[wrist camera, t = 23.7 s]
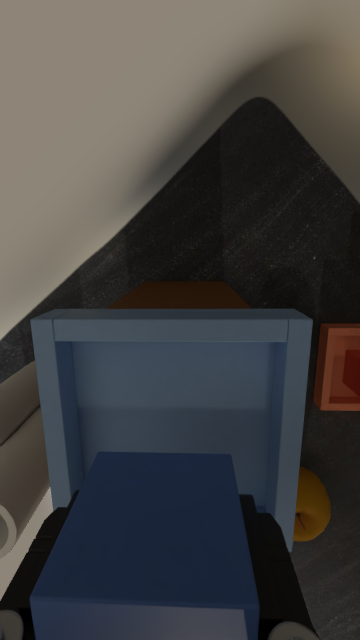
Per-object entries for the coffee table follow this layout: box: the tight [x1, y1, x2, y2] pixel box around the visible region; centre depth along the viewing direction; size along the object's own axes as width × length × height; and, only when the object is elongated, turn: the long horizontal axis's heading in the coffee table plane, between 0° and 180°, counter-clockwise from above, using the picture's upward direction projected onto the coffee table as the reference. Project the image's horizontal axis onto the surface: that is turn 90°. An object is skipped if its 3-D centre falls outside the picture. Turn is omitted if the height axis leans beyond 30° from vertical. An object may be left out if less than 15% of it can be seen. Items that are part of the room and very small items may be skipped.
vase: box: [0, 361, 50, 558], centre depth 33 cm, size 11×7×20 cm, turn 54°
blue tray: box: [30, 281, 313, 552], centre depth 27 cm, size 12×12×26 cm
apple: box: [293, 466, 331, 541], centre depth 40 cm, size 9×9×9 cm
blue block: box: [30, 451, 260, 640], centre depth 9 cm, size 4×4×4 cm
